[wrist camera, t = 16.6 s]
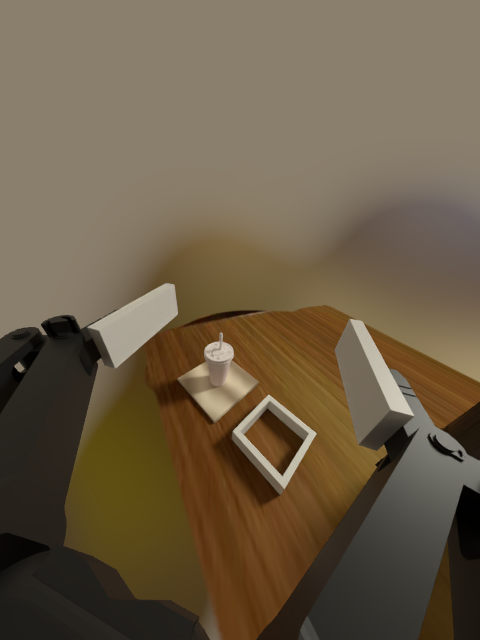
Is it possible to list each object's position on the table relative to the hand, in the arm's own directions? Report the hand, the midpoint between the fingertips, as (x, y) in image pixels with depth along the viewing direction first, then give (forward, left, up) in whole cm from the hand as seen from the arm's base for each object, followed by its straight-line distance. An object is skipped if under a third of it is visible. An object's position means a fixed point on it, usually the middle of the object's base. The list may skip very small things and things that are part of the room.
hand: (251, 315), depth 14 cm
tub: (-9, +2, -30) cm, 32 cm away
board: (-10, -15, -30) cm, 35 cm away
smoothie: (-10, -15, -30) cm, 35 cm away
